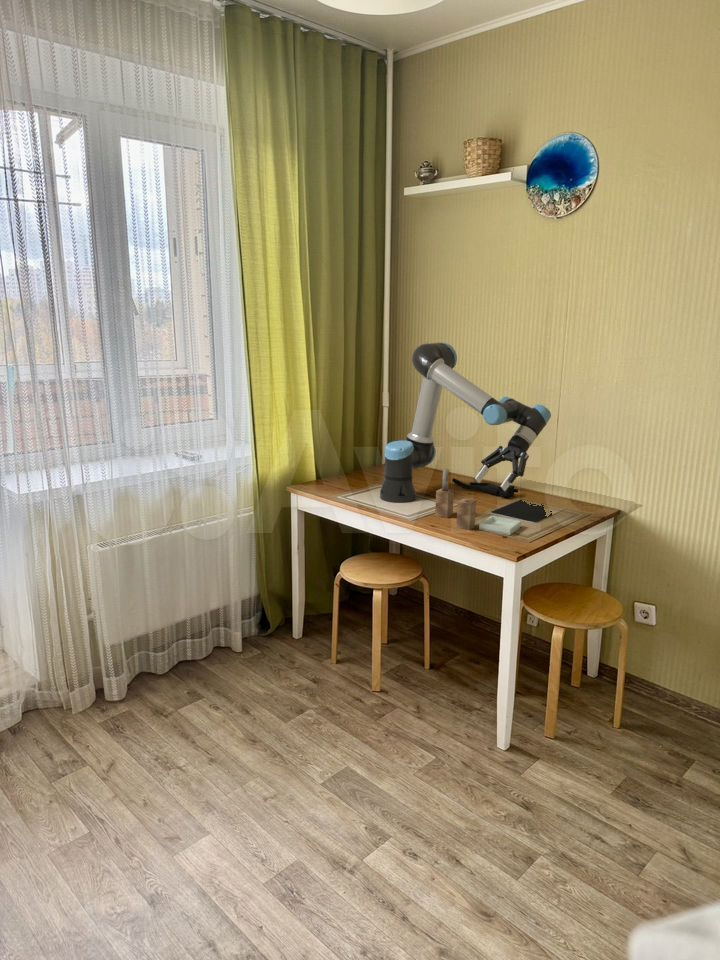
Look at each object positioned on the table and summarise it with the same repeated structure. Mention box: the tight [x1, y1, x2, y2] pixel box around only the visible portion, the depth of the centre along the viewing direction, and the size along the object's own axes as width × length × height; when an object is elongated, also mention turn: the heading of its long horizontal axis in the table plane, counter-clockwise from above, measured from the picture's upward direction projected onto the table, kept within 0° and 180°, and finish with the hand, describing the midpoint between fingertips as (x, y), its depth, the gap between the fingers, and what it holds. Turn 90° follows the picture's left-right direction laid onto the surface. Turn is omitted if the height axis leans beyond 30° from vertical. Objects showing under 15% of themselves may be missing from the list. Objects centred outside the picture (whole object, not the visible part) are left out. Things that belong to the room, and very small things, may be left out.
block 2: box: [455, 498, 477, 531], centre depth 252 cm, size 5×5×10 cm
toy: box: [451, 477, 519, 499], centre depth 303 cm, size 10×5×30 cm
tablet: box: [490, 499, 553, 524], centre depth 275 cm, size 27×1×20 cm
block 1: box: [434, 468, 455, 519], centre depth 265 cm, size 5×5×18 cm
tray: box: [478, 515, 522, 536], centre depth 252 cm, size 12×12×2 cm
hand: (489, 484), depth 255 cm, fingers open, 13 cm apart
